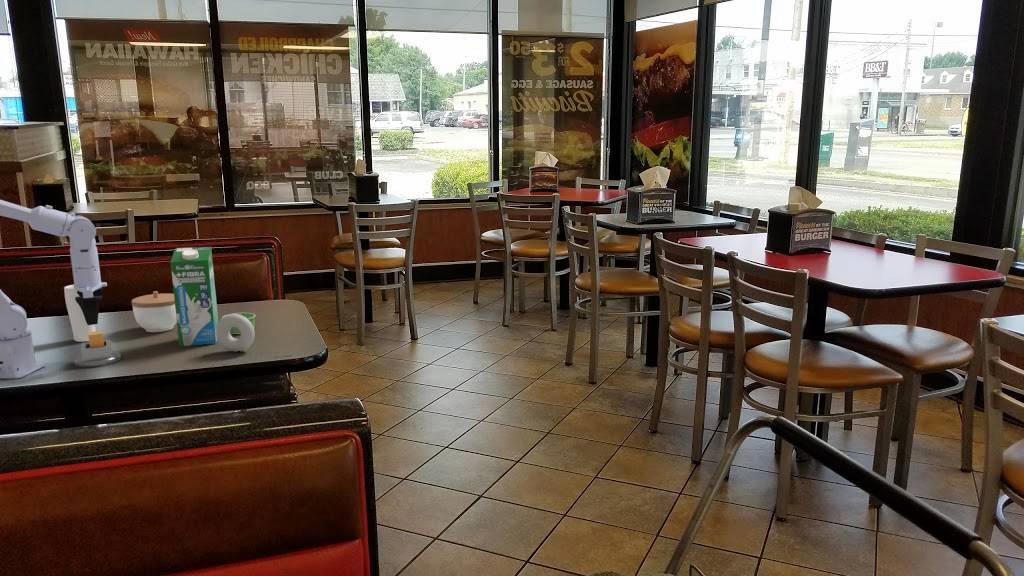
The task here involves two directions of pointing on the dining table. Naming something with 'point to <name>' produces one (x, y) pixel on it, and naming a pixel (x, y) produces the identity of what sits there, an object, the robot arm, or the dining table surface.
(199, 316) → the milk carton
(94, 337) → the orange block
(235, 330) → the ramekin
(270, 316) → the dining table surface
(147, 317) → the lidded bowl
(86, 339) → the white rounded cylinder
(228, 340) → the donut
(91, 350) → the grey square frame
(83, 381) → the dining table surface
